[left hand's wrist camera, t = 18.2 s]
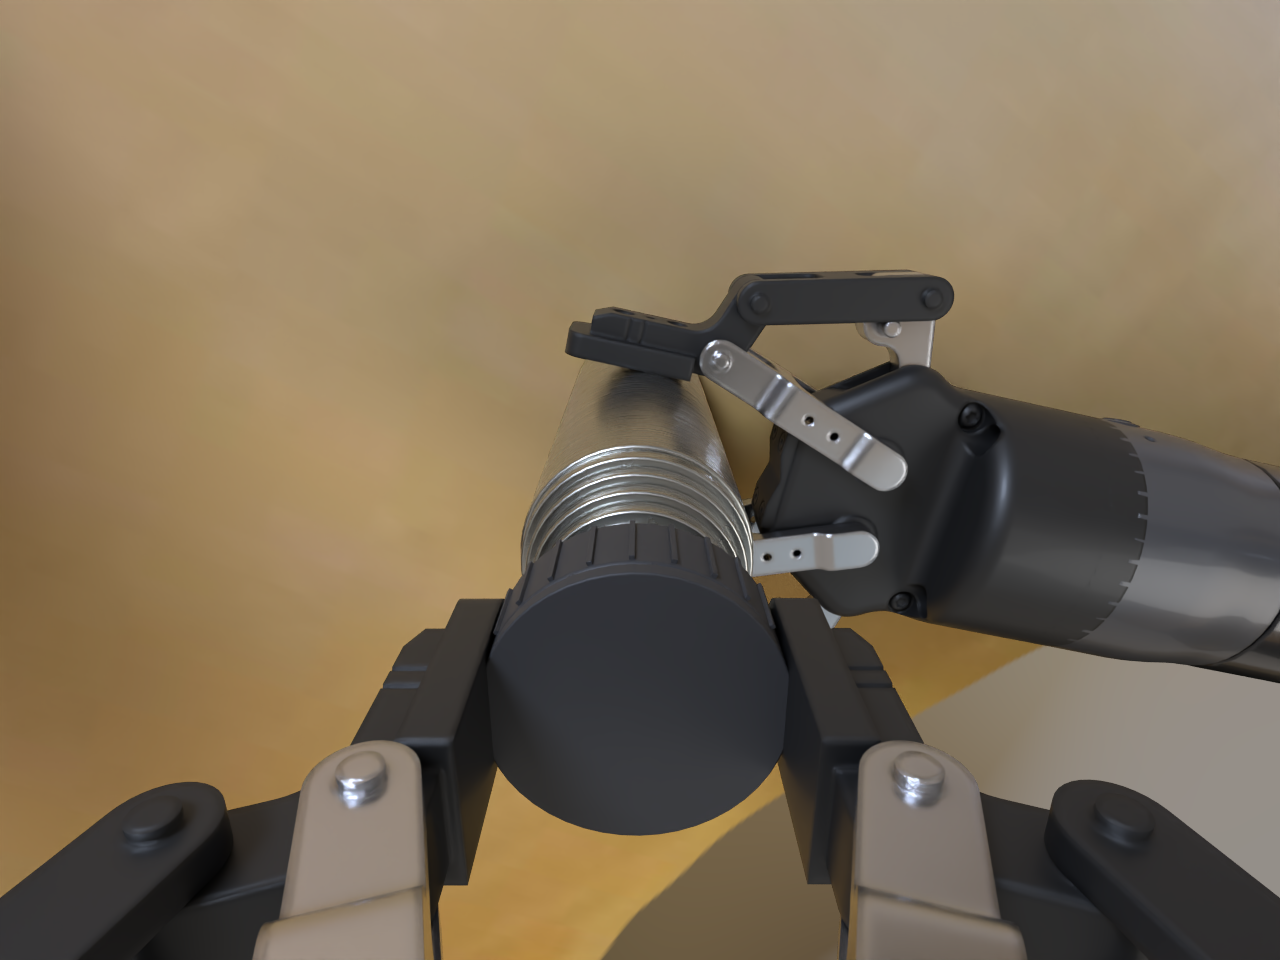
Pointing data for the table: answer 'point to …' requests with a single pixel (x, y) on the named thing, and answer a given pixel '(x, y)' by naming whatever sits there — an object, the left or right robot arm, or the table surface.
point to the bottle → (636, 464)
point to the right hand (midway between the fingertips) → (555, 426)
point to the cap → (636, 681)
